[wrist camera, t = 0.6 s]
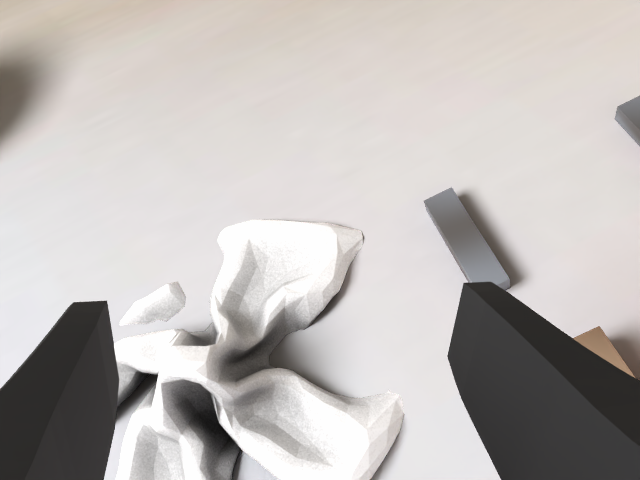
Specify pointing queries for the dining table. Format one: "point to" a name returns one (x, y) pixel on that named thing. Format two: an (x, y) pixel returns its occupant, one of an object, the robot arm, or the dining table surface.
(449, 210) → the building blocks
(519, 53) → the dining table surface
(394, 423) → the cloth
